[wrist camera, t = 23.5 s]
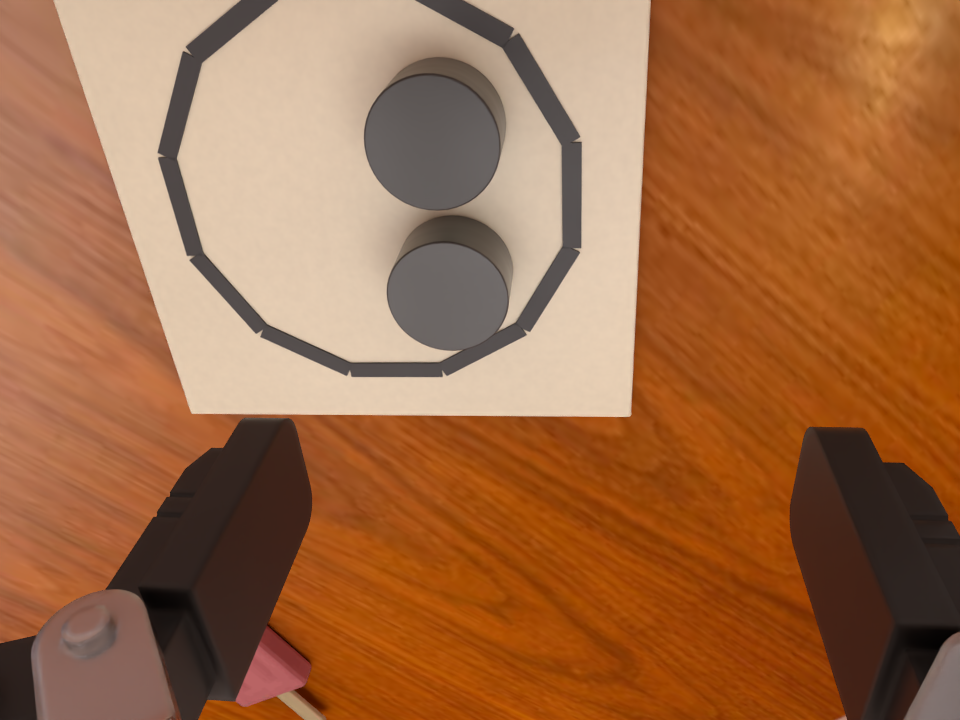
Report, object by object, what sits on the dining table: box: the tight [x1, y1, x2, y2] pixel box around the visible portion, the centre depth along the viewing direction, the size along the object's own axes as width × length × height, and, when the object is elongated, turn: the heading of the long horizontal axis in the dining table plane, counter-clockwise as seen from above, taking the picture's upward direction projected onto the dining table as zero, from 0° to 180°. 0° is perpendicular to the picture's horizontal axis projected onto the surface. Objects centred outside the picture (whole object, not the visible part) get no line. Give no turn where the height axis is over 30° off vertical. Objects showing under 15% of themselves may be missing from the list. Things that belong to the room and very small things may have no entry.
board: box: [53, 0, 651, 417], centre depth 29 cm, size 20×20×1 cm
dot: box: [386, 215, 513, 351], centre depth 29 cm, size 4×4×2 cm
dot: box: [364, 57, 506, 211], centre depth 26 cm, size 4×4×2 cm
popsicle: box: [236, 626, 326, 720], centre depth 45 cm, size 5×2×15 cm
